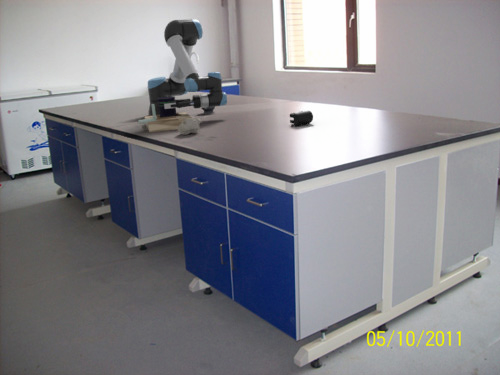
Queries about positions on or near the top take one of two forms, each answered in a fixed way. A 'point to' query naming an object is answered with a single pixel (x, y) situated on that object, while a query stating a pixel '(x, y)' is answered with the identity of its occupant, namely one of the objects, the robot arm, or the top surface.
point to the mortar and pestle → (208, 110)
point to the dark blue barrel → (163, 111)
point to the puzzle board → (166, 122)
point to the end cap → (301, 118)
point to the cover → (149, 119)
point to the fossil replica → (189, 126)
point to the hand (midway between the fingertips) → (163, 105)
